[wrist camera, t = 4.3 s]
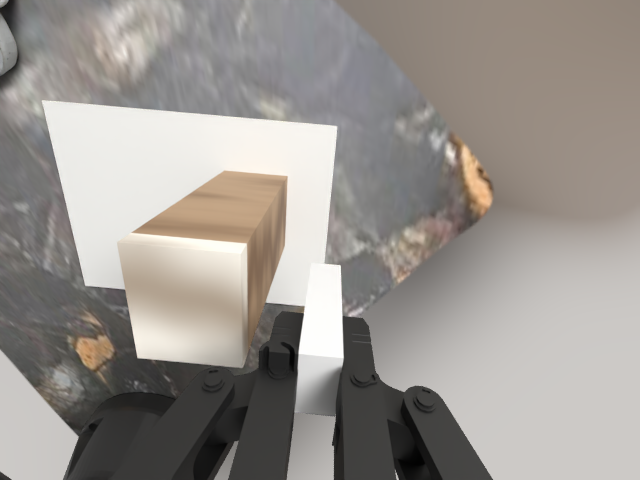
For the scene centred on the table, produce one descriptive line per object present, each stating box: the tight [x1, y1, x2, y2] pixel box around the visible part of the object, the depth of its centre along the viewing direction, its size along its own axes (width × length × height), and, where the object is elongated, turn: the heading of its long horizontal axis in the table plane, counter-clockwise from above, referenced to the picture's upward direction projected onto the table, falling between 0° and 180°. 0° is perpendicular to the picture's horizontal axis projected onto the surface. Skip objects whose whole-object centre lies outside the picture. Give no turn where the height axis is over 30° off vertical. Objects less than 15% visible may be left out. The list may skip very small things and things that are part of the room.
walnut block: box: [117, 170, 288, 368], centre depth 21 cm, size 6×5×14 cm
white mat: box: [42, 100, 337, 306], centre depth 28 cm, size 16×22×1 cm
